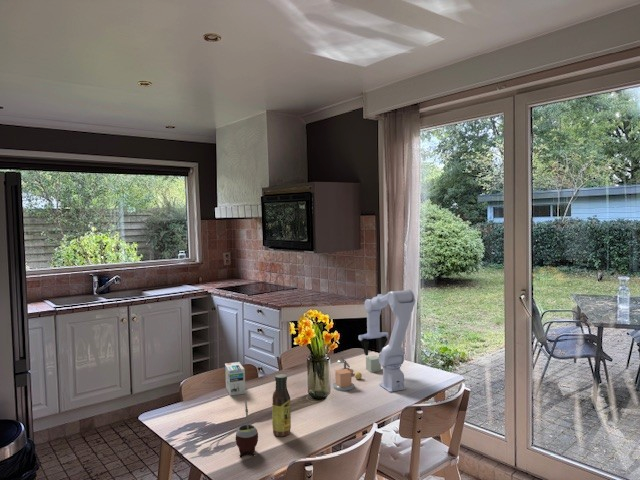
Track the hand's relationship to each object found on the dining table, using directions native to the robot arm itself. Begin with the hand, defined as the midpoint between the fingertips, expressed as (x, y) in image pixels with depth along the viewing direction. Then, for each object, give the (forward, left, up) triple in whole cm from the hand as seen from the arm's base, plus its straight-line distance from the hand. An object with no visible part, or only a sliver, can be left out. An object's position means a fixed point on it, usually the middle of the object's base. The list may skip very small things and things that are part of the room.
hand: (373, 353), depth 215 cm
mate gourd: (-46, +70, -10) cm, 84 cm away
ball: (-2, +9, -10) cm, 14 cm away
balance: (+10, +10, -10) cm, 17 cm away
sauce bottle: (-38, +56, -10) cm, 68 cm away
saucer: (-8, +19, -10) cm, 23 cm away
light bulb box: (+7, +63, -10) cm, 64 cm away
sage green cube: (+6, -3, -10) cm, 12 cm away
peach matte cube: (-8, +19, -9) cm, 22 cm away
